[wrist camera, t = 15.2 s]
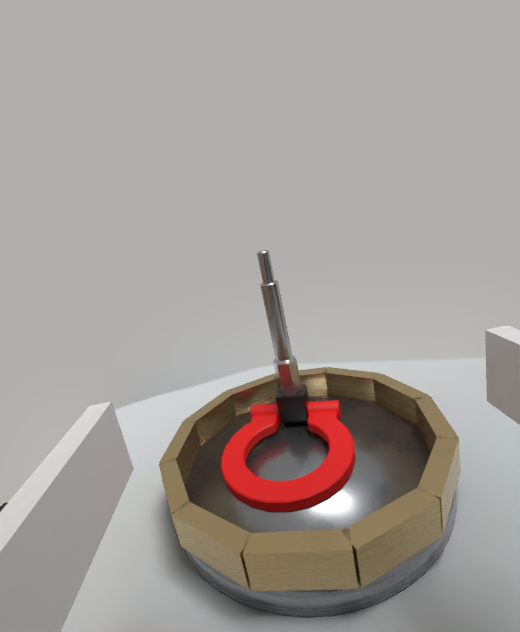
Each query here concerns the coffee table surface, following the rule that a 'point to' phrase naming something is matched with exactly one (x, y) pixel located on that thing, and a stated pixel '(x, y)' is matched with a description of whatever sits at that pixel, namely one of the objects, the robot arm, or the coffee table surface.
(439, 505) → the wooden rimmed bowl
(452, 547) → the coffee table surface
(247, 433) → the tow hook
